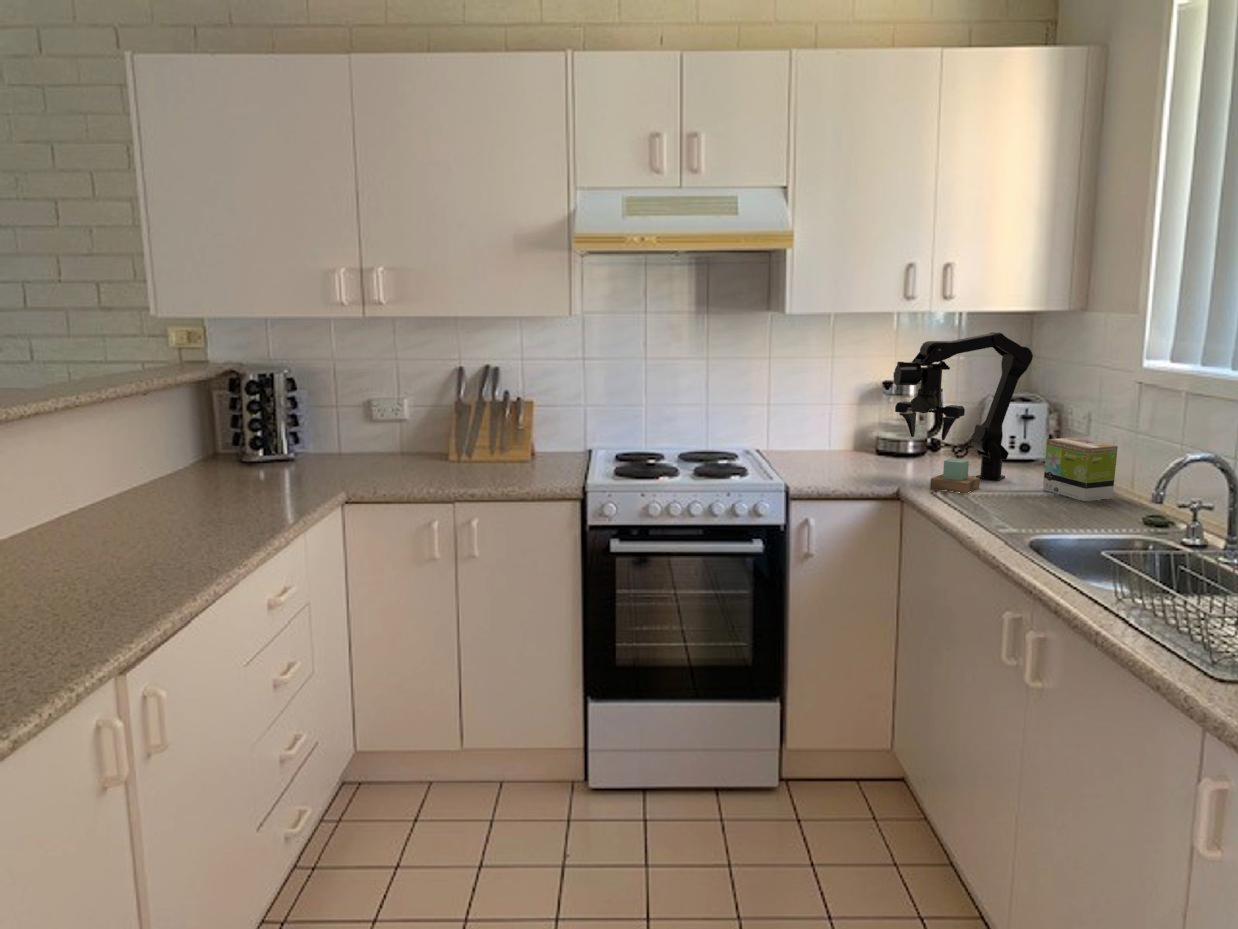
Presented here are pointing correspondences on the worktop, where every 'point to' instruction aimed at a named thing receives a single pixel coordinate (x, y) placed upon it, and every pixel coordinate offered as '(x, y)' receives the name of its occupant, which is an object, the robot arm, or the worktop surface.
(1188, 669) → the worktop surface
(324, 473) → the worktop surface
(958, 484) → the walnut block
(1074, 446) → the tea box
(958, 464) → the teal cube
